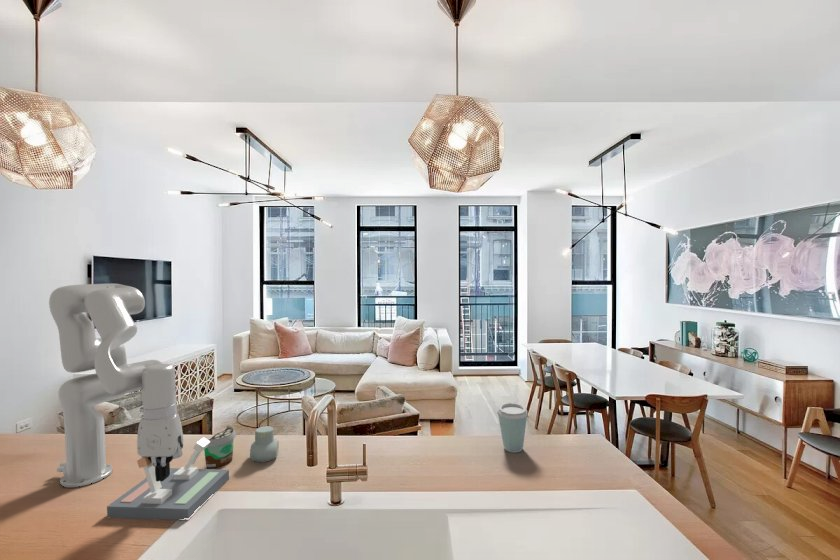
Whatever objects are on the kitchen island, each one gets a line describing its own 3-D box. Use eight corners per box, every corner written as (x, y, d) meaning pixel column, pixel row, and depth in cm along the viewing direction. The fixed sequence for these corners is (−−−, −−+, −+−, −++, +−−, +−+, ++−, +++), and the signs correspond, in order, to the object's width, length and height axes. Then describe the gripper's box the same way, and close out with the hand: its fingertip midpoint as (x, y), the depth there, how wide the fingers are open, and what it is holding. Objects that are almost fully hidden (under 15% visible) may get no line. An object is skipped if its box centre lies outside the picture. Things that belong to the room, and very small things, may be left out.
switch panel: (107, 517, 107) (106, 500, 107) (160, 477, 127) (159, 463, 127) (188, 520, 106) (187, 503, 106) (229, 479, 126) (228, 465, 126)
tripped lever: (147, 494, 109) (136, 460, 108) (157, 487, 112) (146, 454, 112) (156, 492, 108) (145, 458, 108) (165, 485, 112) (154, 452, 112)
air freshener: (254, 452, 144) (253, 424, 143) (279, 449, 146) (278, 421, 145) (249, 467, 133) (248, 437, 133) (275, 464, 135) (275, 434, 135)
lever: (180, 468, 120) (196, 442, 120) (188, 462, 124) (203, 437, 123) (187, 473, 120) (203, 447, 120) (194, 467, 124) (210, 441, 123)
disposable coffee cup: (531, 455, 140) (531, 412, 139) (499, 455, 140) (499, 412, 139) (524, 442, 150) (524, 401, 150) (494, 442, 151) (494, 401, 150)
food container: (220, 473, 130) (219, 442, 129) (203, 471, 131) (202, 440, 130) (244, 455, 142) (243, 426, 141) (228, 453, 143) (227, 425, 142)
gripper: (122, 416, 106) (125, 485, 107) (178, 416, 105) (180, 486, 106) (143, 406, 113) (146, 471, 114) (195, 406, 113) (198, 472, 113)
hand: (162, 478), depth 110 cm, fingers closed
